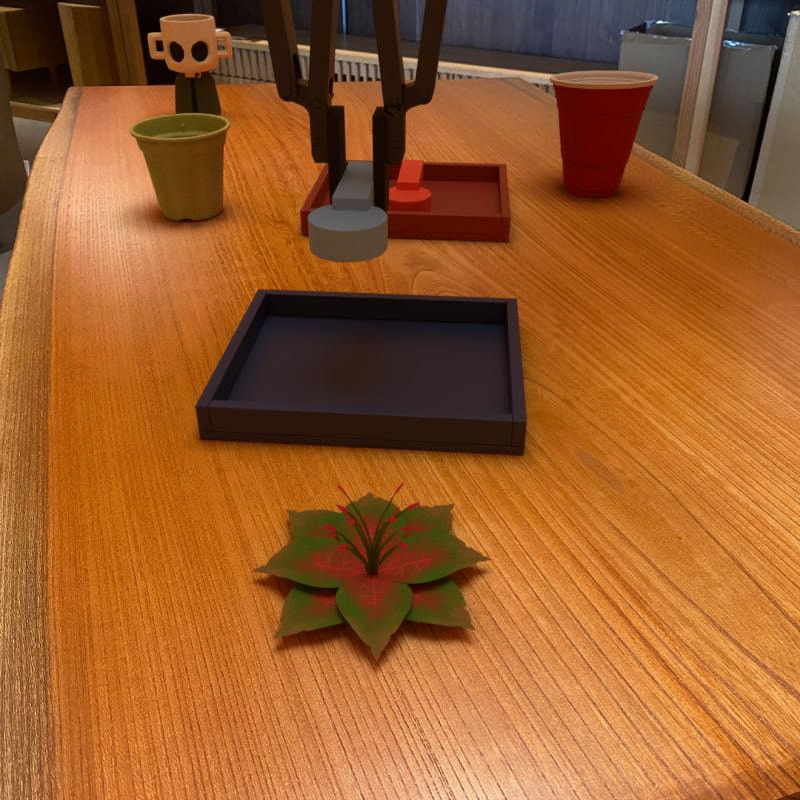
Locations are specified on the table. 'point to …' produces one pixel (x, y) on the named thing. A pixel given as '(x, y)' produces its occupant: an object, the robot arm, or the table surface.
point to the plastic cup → (598, 126)
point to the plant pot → (185, 162)
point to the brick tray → (442, 203)
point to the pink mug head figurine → (192, 59)
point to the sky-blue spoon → (350, 220)
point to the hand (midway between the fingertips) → (360, 210)
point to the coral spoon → (410, 189)
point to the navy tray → (371, 373)
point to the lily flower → (372, 569)
